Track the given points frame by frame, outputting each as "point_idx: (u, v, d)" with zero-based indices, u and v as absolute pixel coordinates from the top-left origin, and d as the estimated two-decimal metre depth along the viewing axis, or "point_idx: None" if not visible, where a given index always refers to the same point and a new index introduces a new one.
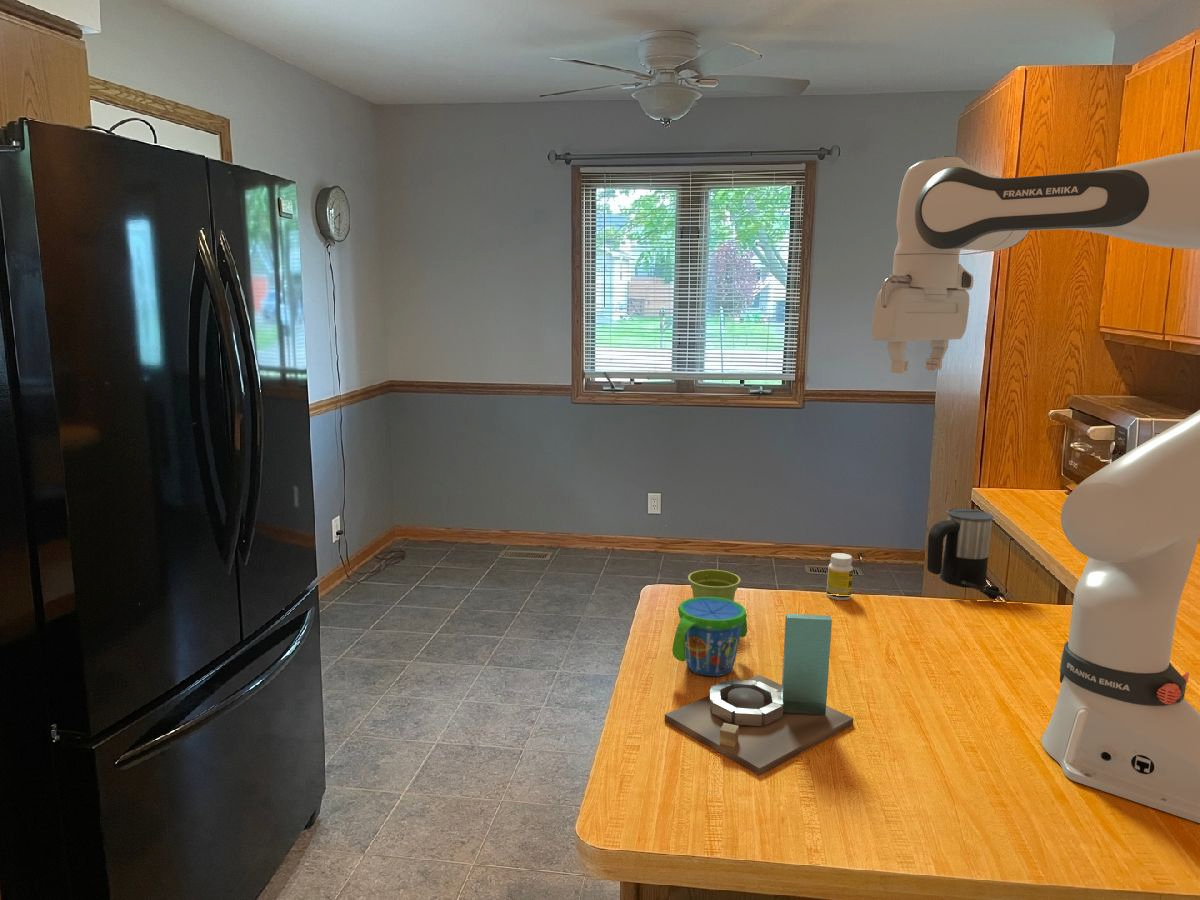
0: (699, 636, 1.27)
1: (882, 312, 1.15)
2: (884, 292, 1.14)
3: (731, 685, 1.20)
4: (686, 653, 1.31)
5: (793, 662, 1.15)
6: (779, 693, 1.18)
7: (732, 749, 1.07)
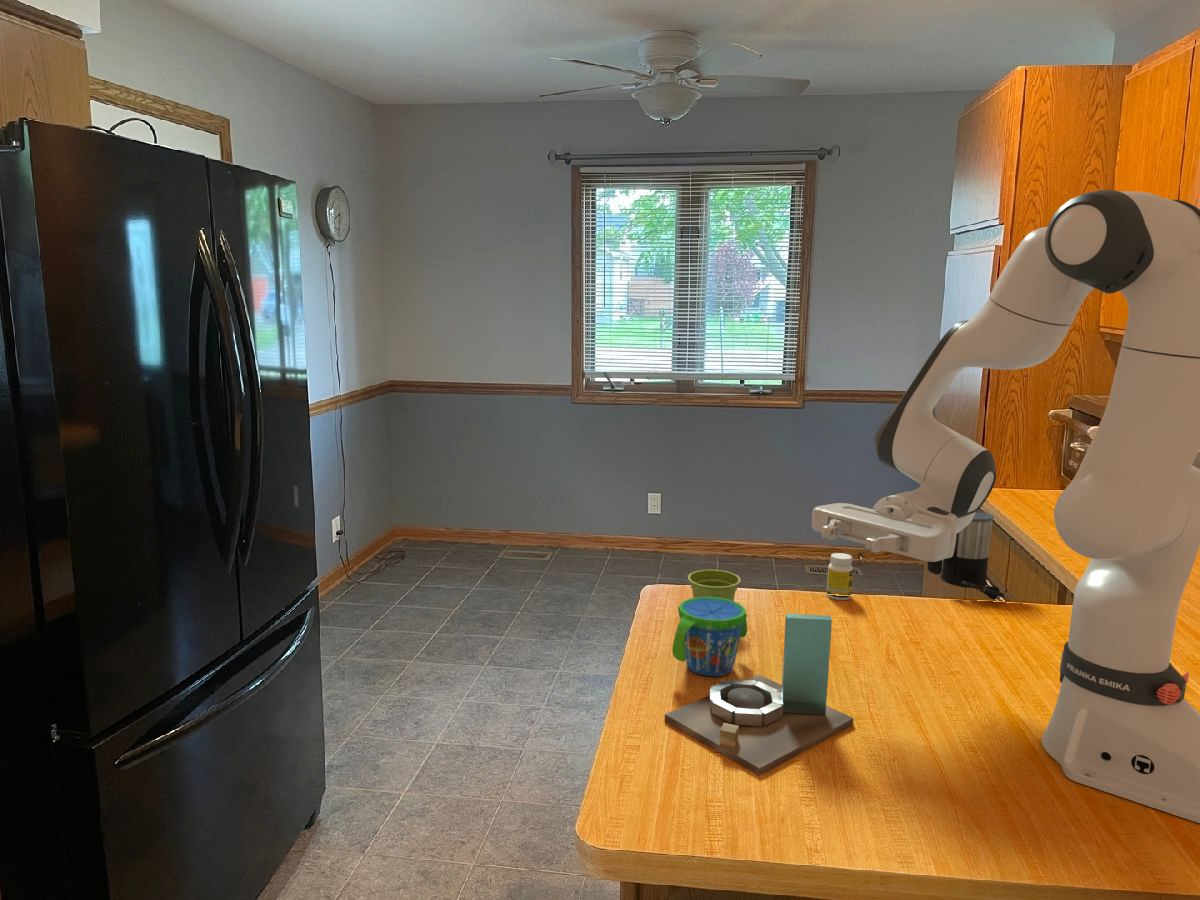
0: (699, 636, 1.27)
1: None
2: None
3: (731, 685, 1.20)
4: (686, 653, 1.31)
5: (793, 662, 1.15)
6: (779, 693, 1.18)
7: (732, 749, 1.07)
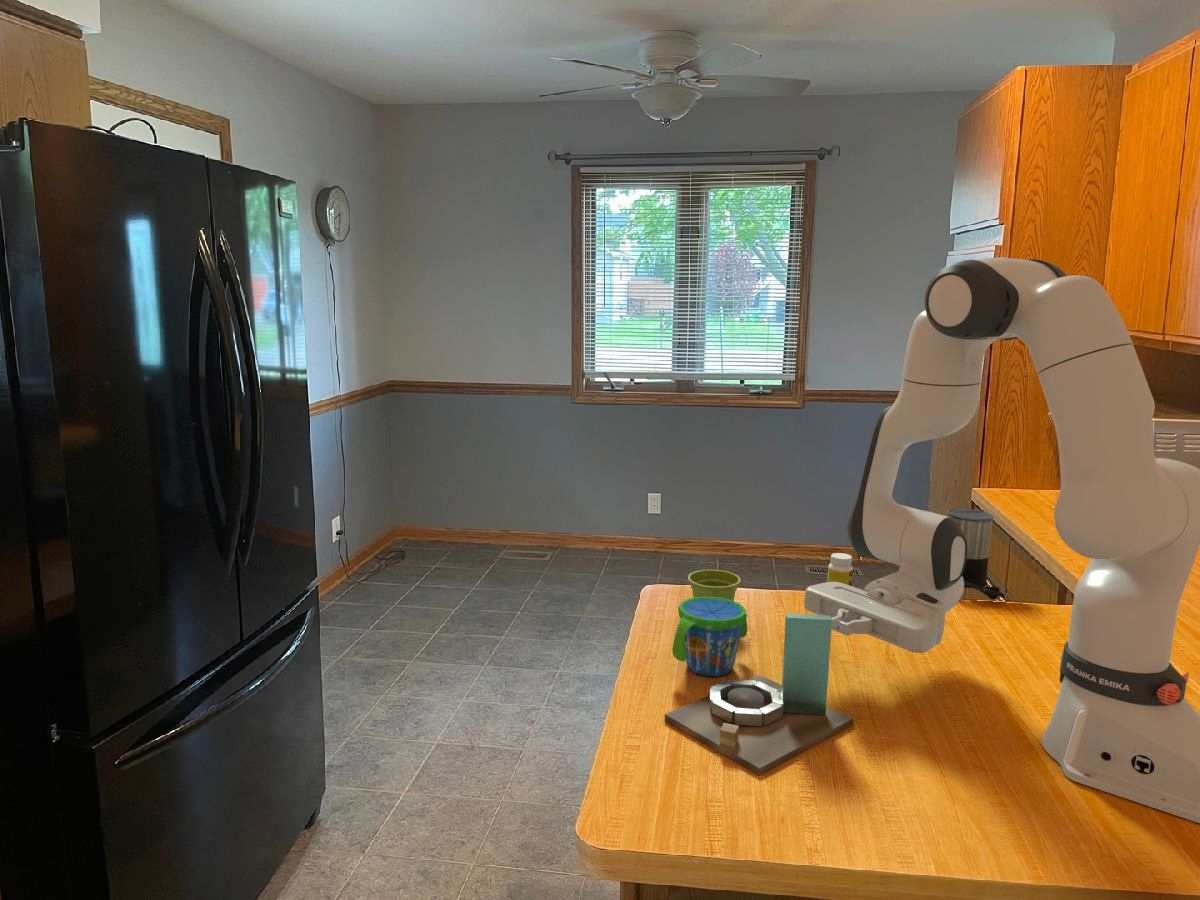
0: (700, 636, 1.27)
1: None
2: None
3: (731, 685, 1.20)
4: (686, 653, 1.31)
5: (793, 662, 1.15)
6: (779, 693, 1.18)
7: (732, 749, 1.07)
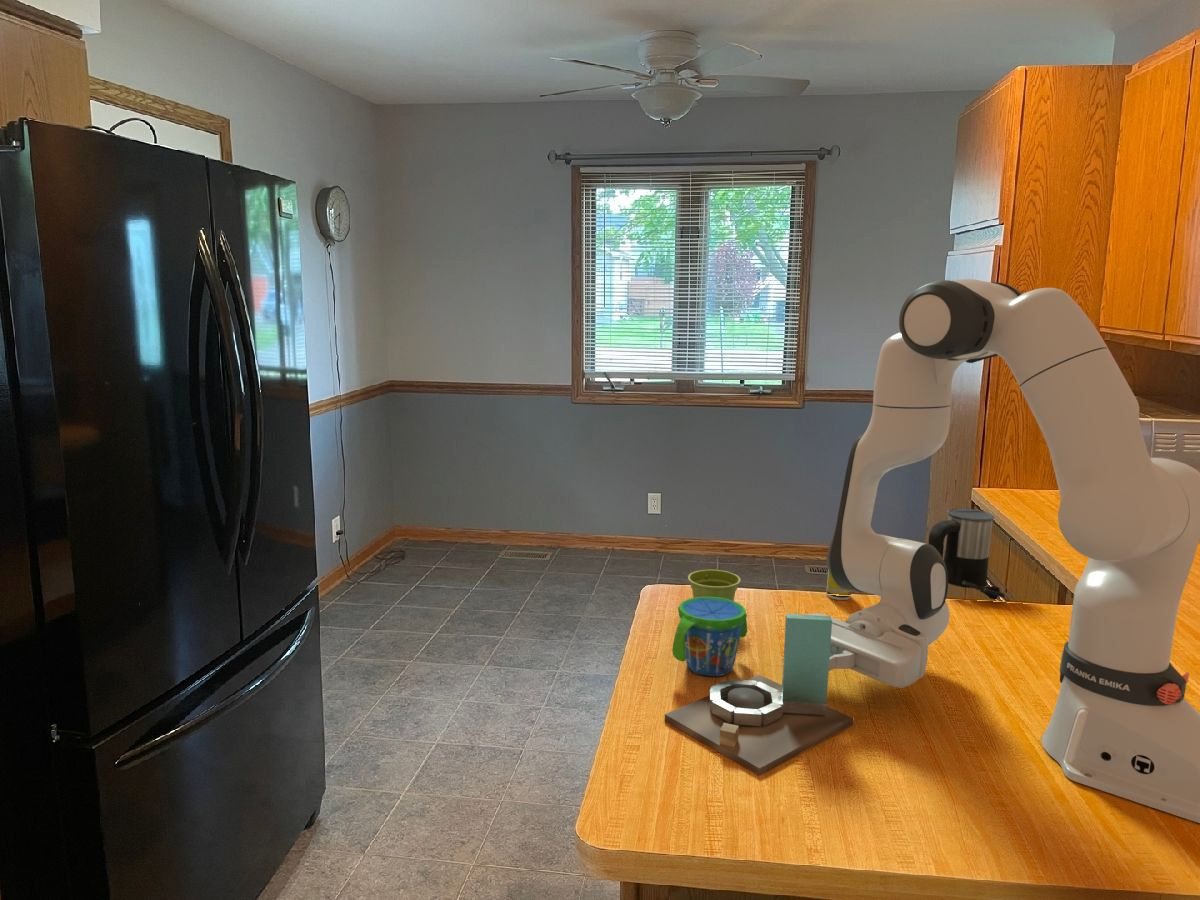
0: (699, 636, 1.27)
1: None
2: None
3: (732, 685, 1.20)
4: (686, 653, 1.31)
5: (793, 662, 1.14)
6: (779, 693, 1.18)
7: (732, 749, 1.07)
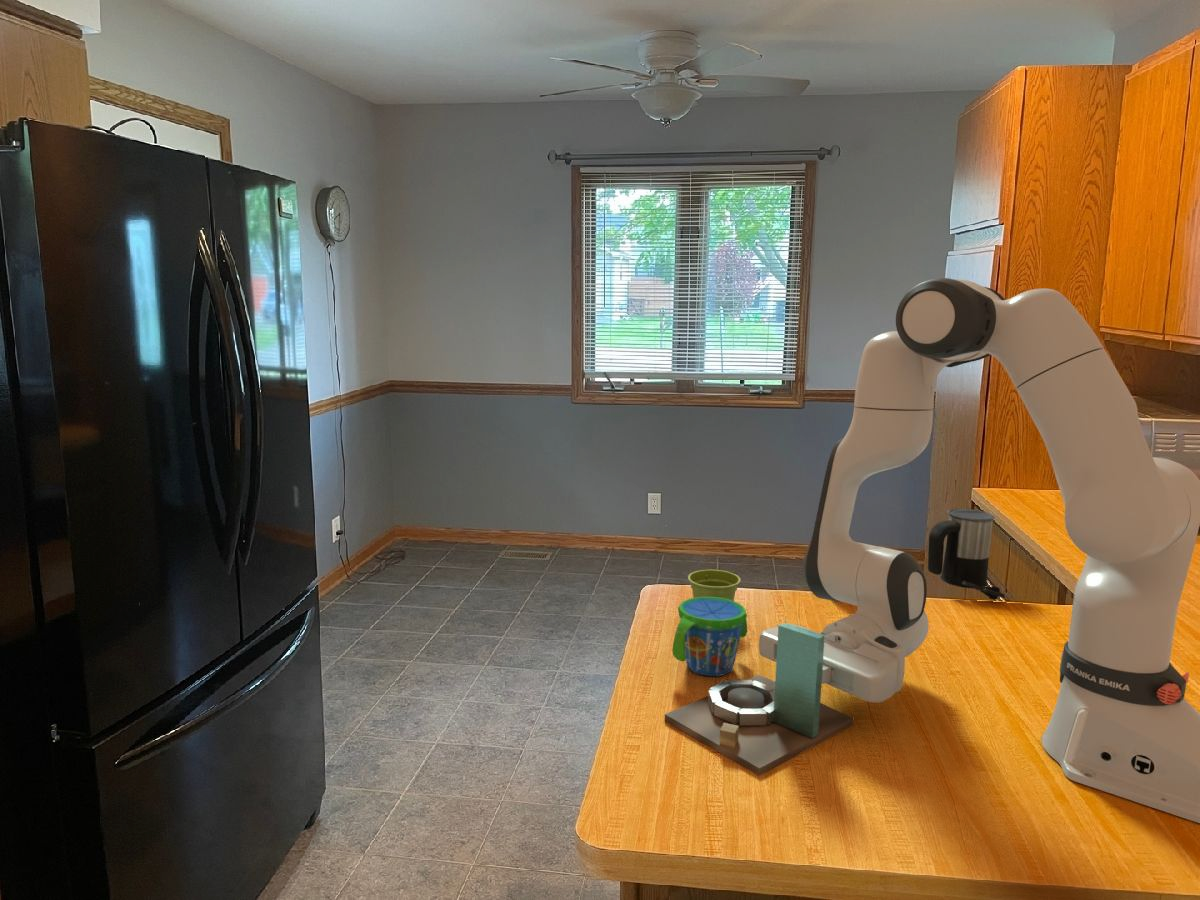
0: (700, 636, 1.27)
1: None
2: None
3: (748, 685, 1.21)
4: (686, 653, 1.31)
5: (783, 673, 1.11)
6: None
7: (732, 749, 1.07)
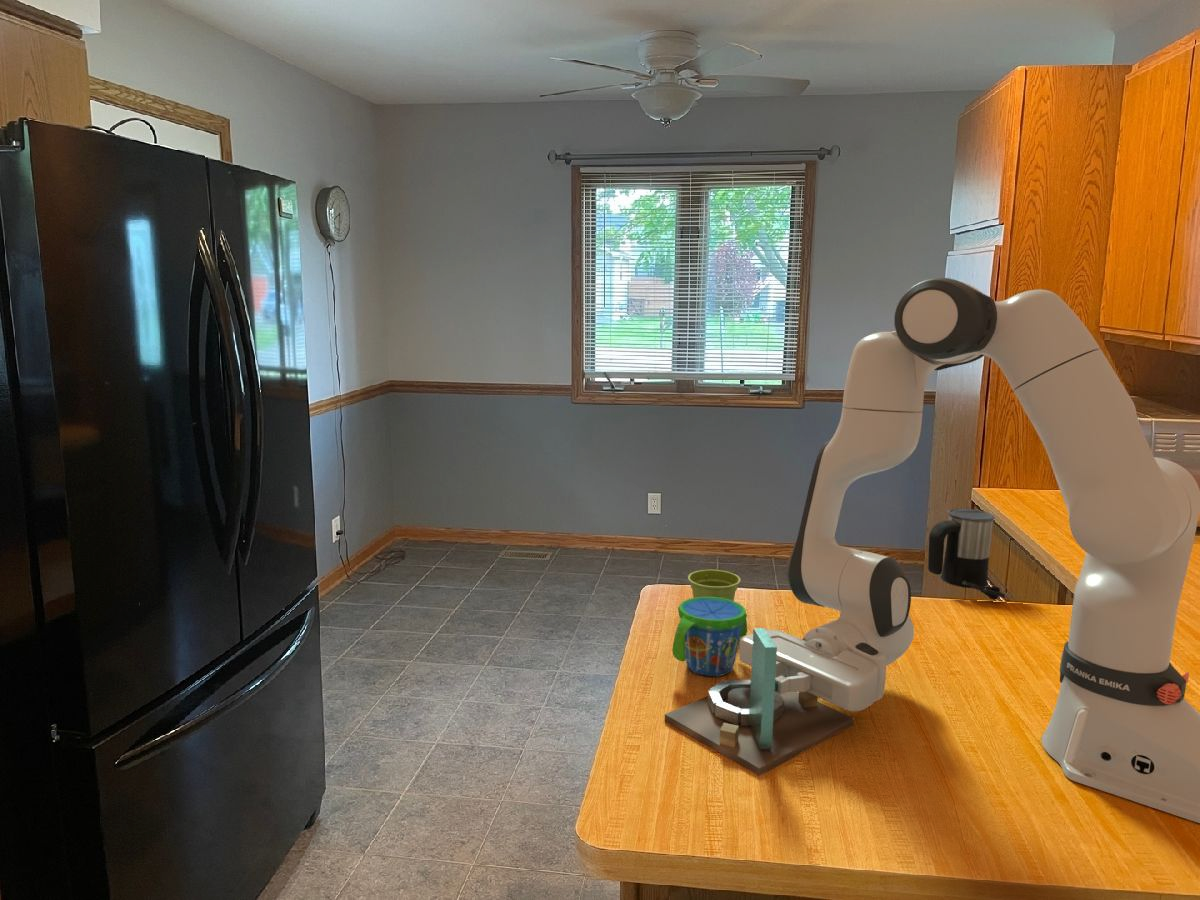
0: (699, 636, 1.27)
1: None
2: None
3: None
4: (686, 653, 1.31)
5: (753, 677, 1.10)
6: None
7: (732, 749, 1.07)
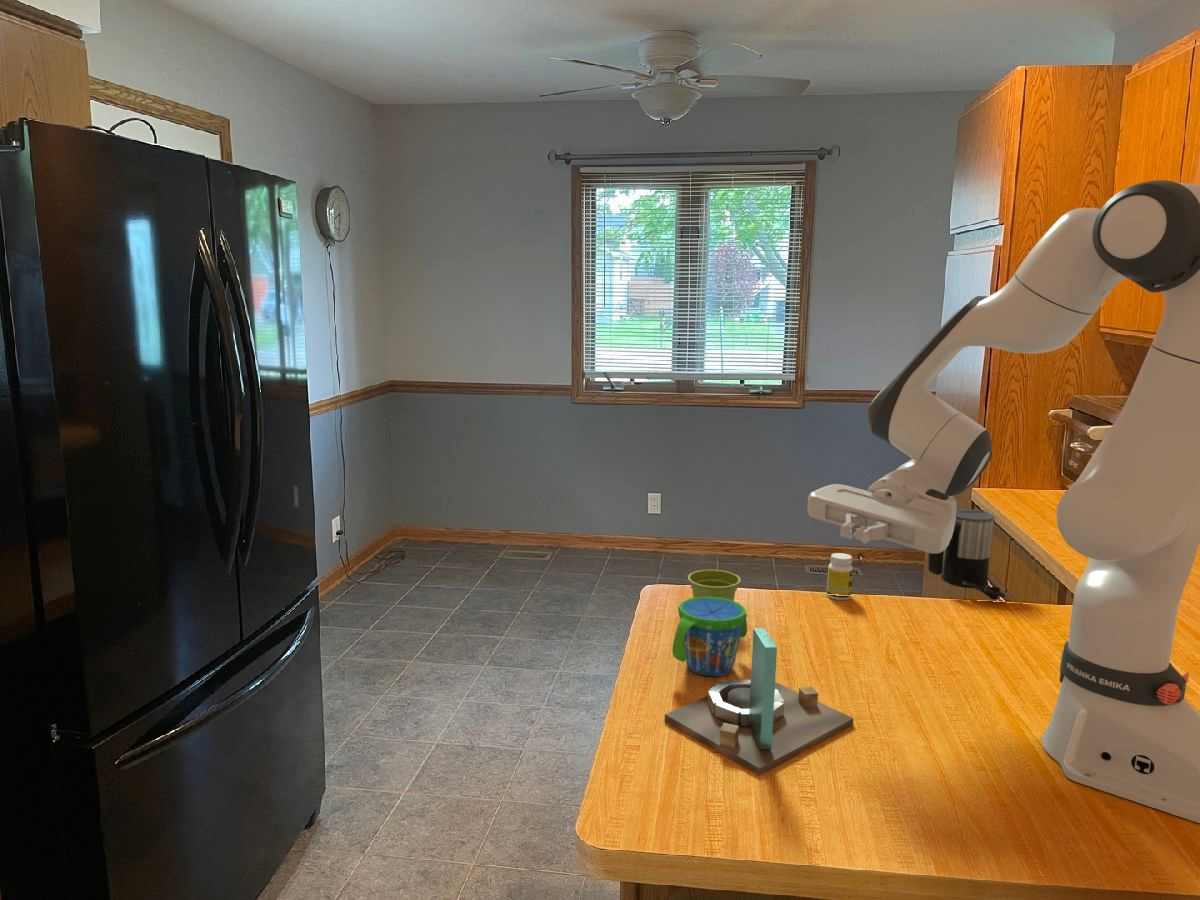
0: (699, 636, 1.27)
1: None
2: None
3: None
4: (686, 653, 1.31)
5: (753, 677, 1.10)
6: None
7: (732, 749, 1.07)
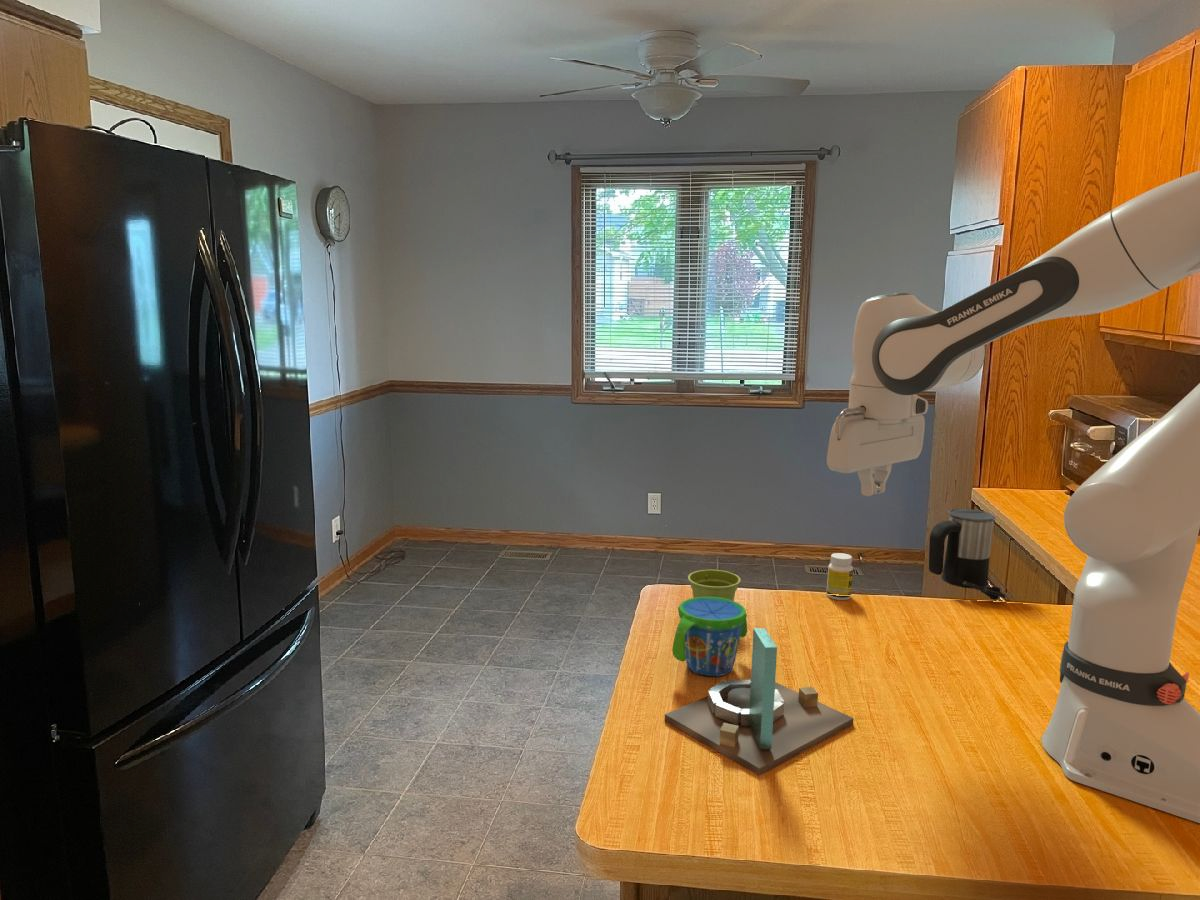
0: (700, 636, 1.27)
1: (836, 444, 1.19)
2: (838, 426, 1.17)
3: None
4: (686, 653, 1.31)
5: (753, 677, 1.10)
6: None
7: (732, 749, 1.07)
